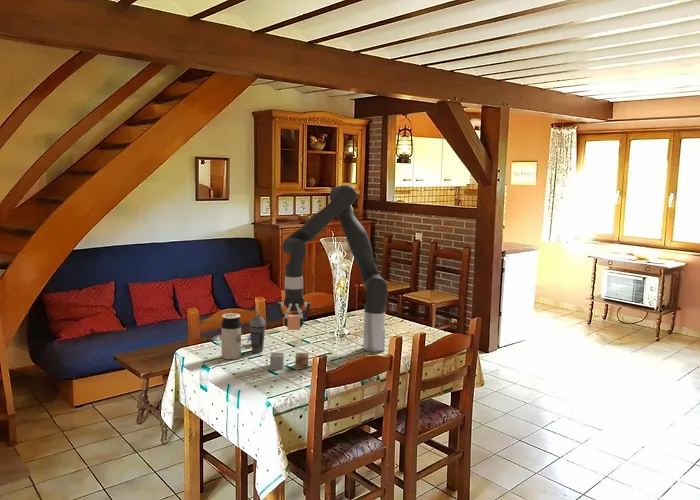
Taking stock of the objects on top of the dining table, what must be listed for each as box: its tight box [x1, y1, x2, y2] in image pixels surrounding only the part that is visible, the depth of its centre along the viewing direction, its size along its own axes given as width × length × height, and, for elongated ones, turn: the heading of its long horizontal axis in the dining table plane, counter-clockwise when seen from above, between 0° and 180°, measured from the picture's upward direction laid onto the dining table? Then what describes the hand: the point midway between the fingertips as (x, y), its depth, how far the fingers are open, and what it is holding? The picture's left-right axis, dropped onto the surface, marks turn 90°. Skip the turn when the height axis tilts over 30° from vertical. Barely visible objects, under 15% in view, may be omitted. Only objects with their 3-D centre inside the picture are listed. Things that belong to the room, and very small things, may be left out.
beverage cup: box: [248, 305, 267, 354], centre depth 248 cm, size 7×7×20 cm
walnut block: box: [294, 352, 309, 370], centre depth 232 cm, size 5×5×5 cm
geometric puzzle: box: [246, 332, 251, 343], centre depth 258 cm, size 7×7×8 cm
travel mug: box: [220, 312, 242, 360], centre depth 240 cm, size 8×8×18 cm
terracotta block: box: [287, 314, 301, 331], centre depth 238 cm, size 5×5×5 cm
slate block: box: [269, 352, 285, 370], centre depth 231 cm, size 5×5×5 cm
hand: (293, 326), depth 238 cm, fingers closed on terracotta block, 5 cm apart
